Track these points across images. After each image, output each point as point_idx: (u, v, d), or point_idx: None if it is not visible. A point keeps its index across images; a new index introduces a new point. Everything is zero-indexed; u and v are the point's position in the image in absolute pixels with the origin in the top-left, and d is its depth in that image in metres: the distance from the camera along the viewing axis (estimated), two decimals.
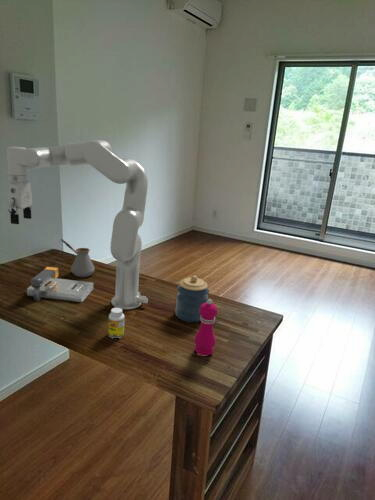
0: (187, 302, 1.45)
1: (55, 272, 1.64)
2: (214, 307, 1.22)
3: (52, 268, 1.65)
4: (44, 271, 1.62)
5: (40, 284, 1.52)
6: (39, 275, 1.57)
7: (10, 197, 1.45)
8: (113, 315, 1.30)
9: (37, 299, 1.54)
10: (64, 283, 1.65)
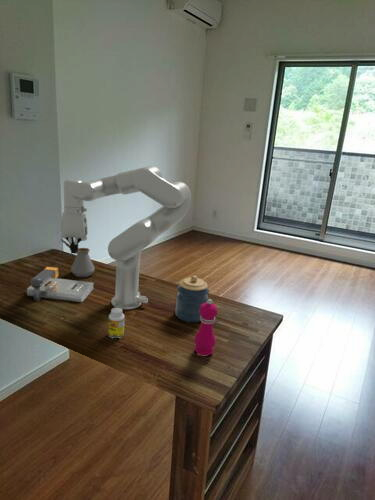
0: (187, 302, 1.45)
1: (55, 272, 1.64)
2: (214, 307, 1.22)
3: (52, 268, 1.65)
4: (44, 271, 1.62)
5: (40, 284, 1.52)
6: (39, 275, 1.57)
7: (84, 227, 1.53)
8: (113, 315, 1.30)
9: (37, 299, 1.54)
10: (64, 283, 1.65)
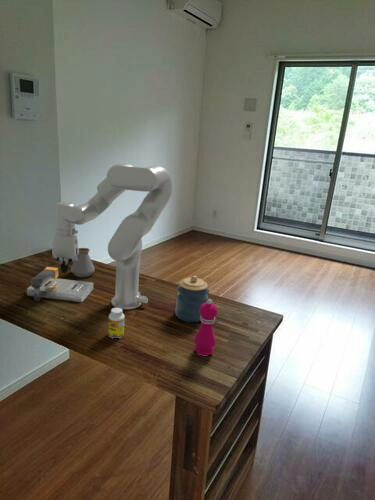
0: (187, 302, 1.45)
1: (55, 272, 1.64)
2: (214, 307, 1.22)
3: (52, 268, 1.65)
4: (44, 271, 1.62)
5: (40, 284, 1.52)
6: (39, 275, 1.57)
7: (75, 249, 1.57)
8: (113, 315, 1.30)
9: (37, 299, 1.54)
10: (64, 283, 1.65)
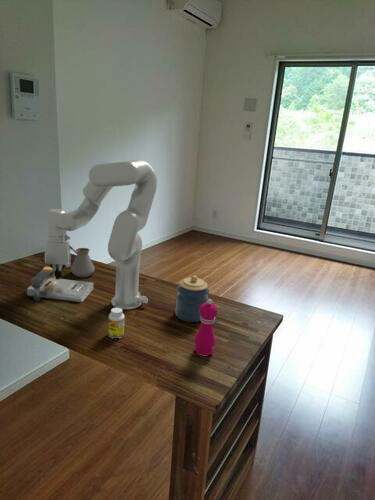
0: (187, 302, 1.45)
1: None
2: (214, 307, 1.22)
3: (50, 268, 1.65)
4: (43, 271, 1.62)
5: (40, 284, 1.52)
6: (38, 275, 1.57)
7: (68, 254, 1.59)
8: (113, 315, 1.30)
9: (37, 299, 1.54)
10: (64, 283, 1.65)
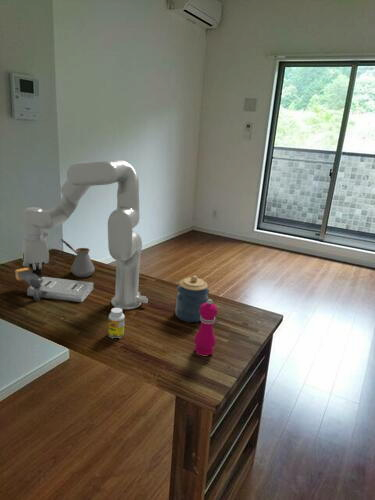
0: (187, 302, 1.45)
1: None
2: (214, 307, 1.22)
3: (23, 269, 1.61)
4: (22, 273, 1.58)
5: (41, 283, 1.54)
6: (27, 277, 1.55)
7: None
8: (113, 315, 1.30)
9: (37, 299, 1.54)
10: (64, 283, 1.65)
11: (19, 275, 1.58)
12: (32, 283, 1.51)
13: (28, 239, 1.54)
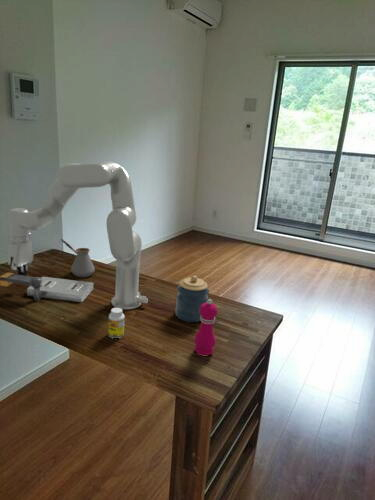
0: (187, 302, 1.45)
1: None
2: (214, 307, 1.22)
3: (7, 274, 1.55)
4: (12, 278, 1.53)
5: None
6: (22, 279, 1.52)
7: None
8: (113, 315, 1.30)
9: (37, 299, 1.54)
10: (64, 283, 1.65)
11: (9, 280, 1.52)
12: (34, 283, 1.51)
13: (18, 241, 1.51)
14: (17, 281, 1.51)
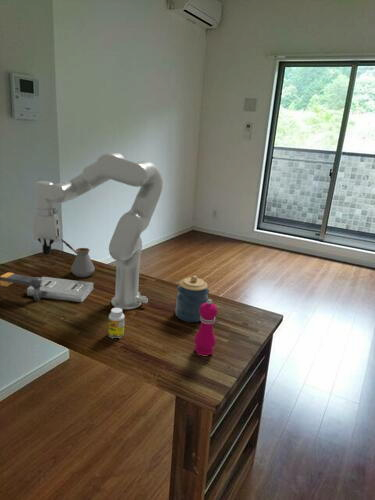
0: (187, 302, 1.45)
1: None
2: (214, 307, 1.22)
3: (7, 274, 1.55)
4: (12, 278, 1.53)
5: None
6: (22, 279, 1.52)
7: (56, 229, 1.54)
8: (113, 315, 1.30)
9: (37, 299, 1.54)
10: (64, 283, 1.65)
11: (9, 280, 1.52)
12: (34, 283, 1.51)
13: (36, 212, 1.52)
14: (17, 281, 1.51)
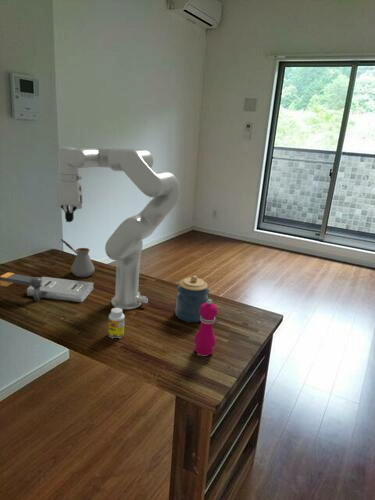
0: (187, 302, 1.45)
1: None
2: (214, 307, 1.22)
3: (7, 274, 1.55)
4: (12, 278, 1.53)
5: None
6: (22, 279, 1.52)
7: (79, 195, 1.54)
8: (113, 315, 1.30)
9: (37, 299, 1.54)
10: (64, 283, 1.65)
11: (9, 280, 1.52)
12: (34, 283, 1.51)
13: (59, 178, 1.52)
14: (17, 281, 1.51)
